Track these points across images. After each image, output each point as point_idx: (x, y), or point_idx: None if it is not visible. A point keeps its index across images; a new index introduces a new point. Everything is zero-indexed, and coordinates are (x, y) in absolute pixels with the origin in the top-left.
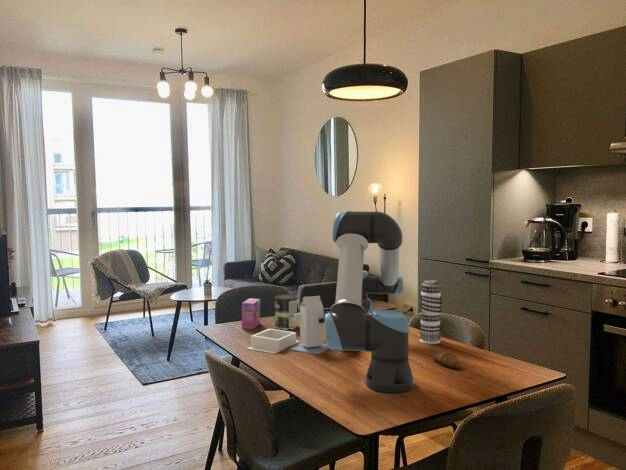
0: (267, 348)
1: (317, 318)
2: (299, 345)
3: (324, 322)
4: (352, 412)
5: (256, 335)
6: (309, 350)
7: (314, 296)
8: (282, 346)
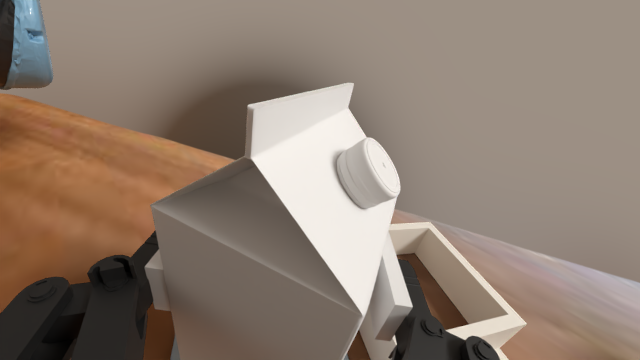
0: None
1: None
2: None
3: (154, 304)
4: (11, 112)
5: (434, 236)
6: None
7: (301, 93)
8: None
